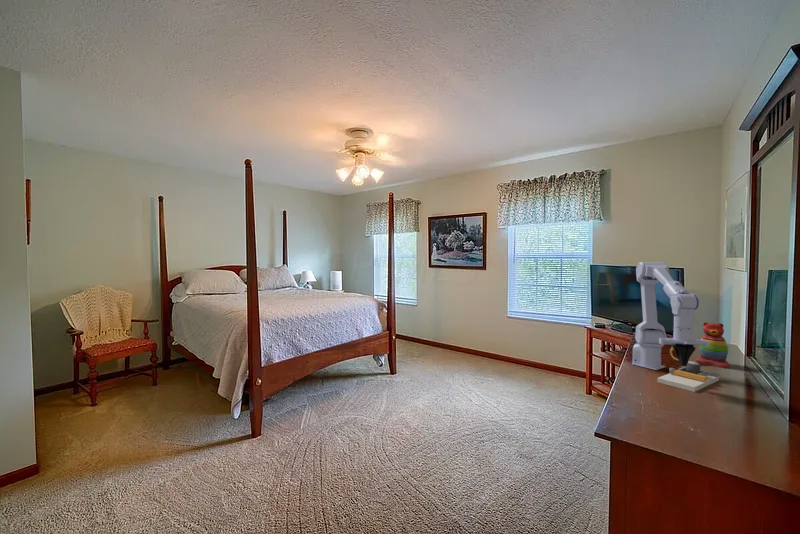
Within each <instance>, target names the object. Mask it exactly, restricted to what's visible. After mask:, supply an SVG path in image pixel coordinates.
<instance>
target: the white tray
mask: <svg viewBox="0 0 800 534" xmlns="http://www.w3.org/2000/svg"><path fill="white" fill-rule="evenodd" d="M676 370H680V371H684V372H686V366H681V365H680V367H679V368H676ZM698 375H701V376H706V377H707V381H701V380H697V379H693V378H688V377H684V376H680V375H676V374H671V373H669V372H668V373H667V374H664V375H662V376H659V377H657V378H656V380H657V381H656V383H658V384H659V383H660V384H663V385H665V386H666V385H667V386H671V387H674V388H676V389H677V388H679V389H683V390H685V391H689V392H693V393H695V392H697V391H699V390H702V389H704V388H706V387H709V386H710V385H712V384H714V383H716V382H719V381H720V372H716V371H711V370H707V369H703V368H700V373H698Z"/></svg>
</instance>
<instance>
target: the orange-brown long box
mask: <svg viewBox="0 0 800 534" xmlns="http://www.w3.org/2000/svg"><path fill="white" fill-rule="evenodd" d="M668 369H669V370H668V374H669V373H671V374H676V375H680V376H684V377H688V378H693V379H697V380H701V381H707V377H706V376H701V375H697V374H693V373H688V372H684V371H680V370H677V368H674V367H669V368H668Z"/></svg>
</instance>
